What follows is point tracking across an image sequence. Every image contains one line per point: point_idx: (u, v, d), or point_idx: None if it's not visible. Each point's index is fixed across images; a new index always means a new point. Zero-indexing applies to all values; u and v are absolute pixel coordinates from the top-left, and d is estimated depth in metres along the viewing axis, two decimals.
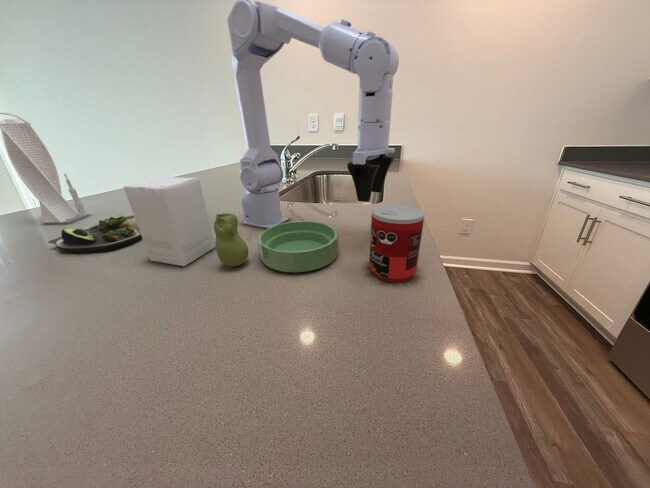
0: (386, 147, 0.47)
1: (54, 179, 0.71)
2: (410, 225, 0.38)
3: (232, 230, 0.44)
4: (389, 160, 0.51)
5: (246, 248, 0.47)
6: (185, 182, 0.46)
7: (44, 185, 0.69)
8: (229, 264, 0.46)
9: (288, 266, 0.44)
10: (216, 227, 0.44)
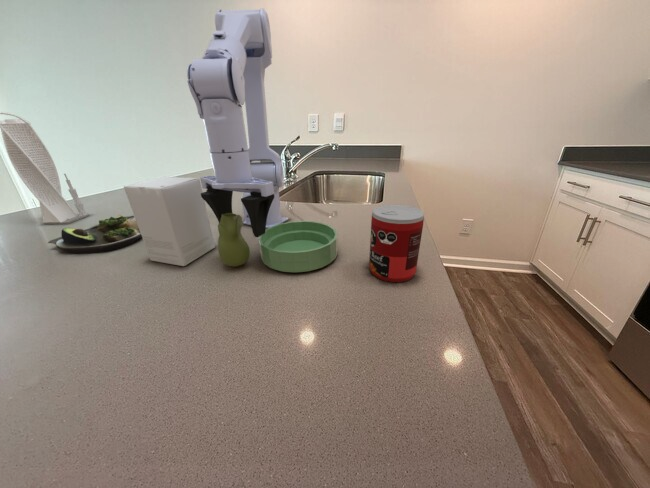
0: (218, 181, 0.40)
1: (54, 179, 0.71)
2: (410, 225, 0.38)
3: (236, 231, 0.44)
4: None
5: (248, 249, 0.47)
6: (185, 182, 0.46)
7: (44, 185, 0.69)
8: (230, 264, 0.46)
9: (288, 266, 0.44)
10: (221, 226, 0.44)
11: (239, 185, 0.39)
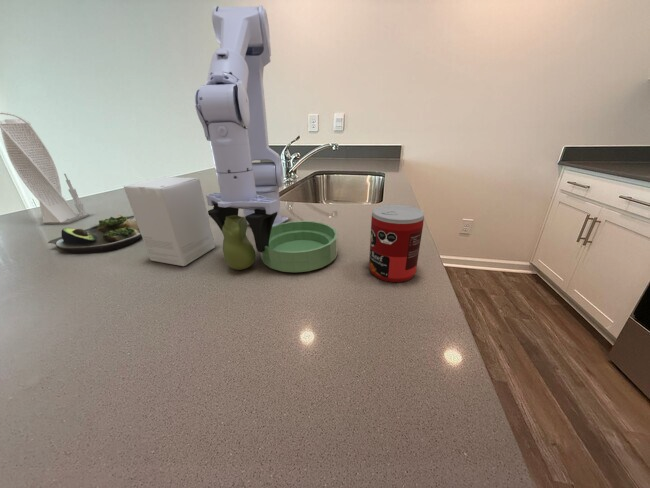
0: (224, 199, 0.41)
1: (54, 179, 0.71)
2: (410, 225, 0.38)
3: (240, 234, 0.43)
4: None
5: (253, 252, 0.46)
6: (185, 182, 0.46)
7: (44, 185, 0.69)
8: (235, 267, 0.45)
9: (288, 266, 0.44)
10: (224, 229, 0.43)
11: (244, 203, 0.41)
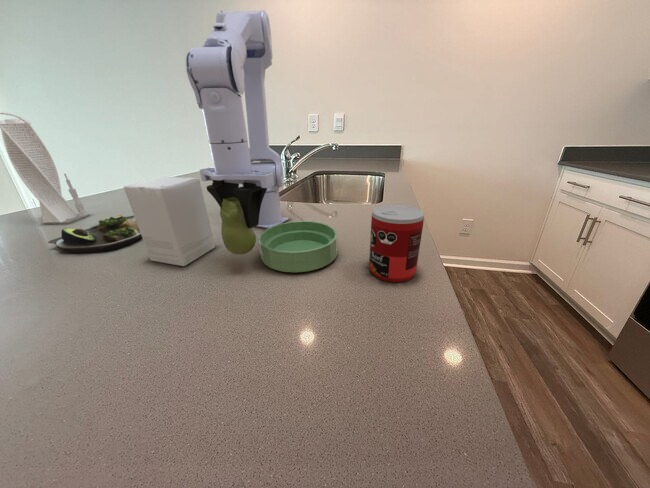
0: (217, 172, 0.40)
1: (54, 179, 0.71)
2: (410, 225, 0.38)
3: (238, 216, 0.41)
4: None
5: (253, 236, 0.44)
6: (185, 182, 0.46)
7: (44, 185, 0.69)
8: (234, 252, 0.44)
9: (288, 266, 0.44)
10: (222, 211, 0.41)
11: (239, 176, 0.39)
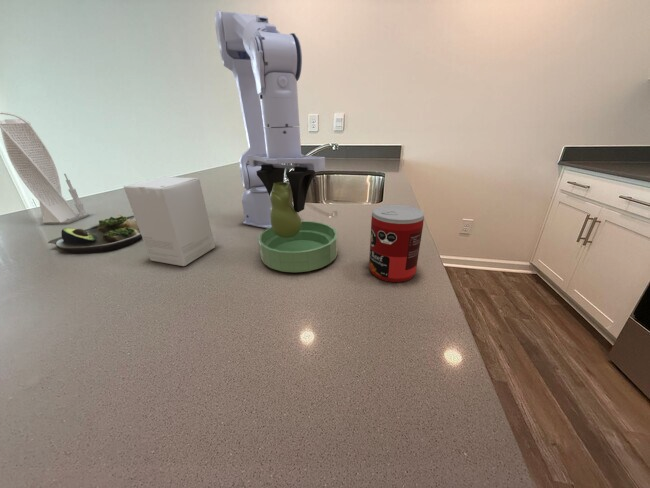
0: (270, 156, 0.41)
1: (54, 179, 0.71)
2: (410, 225, 0.38)
3: (289, 199, 0.42)
4: None
5: (300, 220, 0.46)
6: (185, 182, 0.46)
7: (44, 185, 0.69)
8: (282, 235, 0.45)
9: (288, 266, 0.44)
10: (273, 195, 0.42)
11: (292, 160, 0.40)
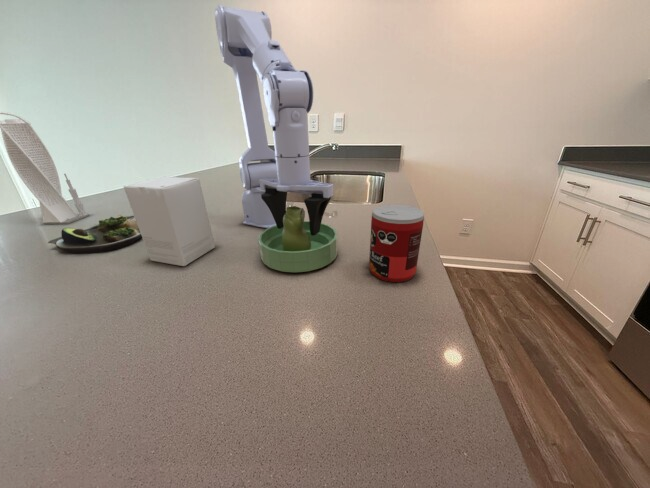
0: (282, 183, 0.43)
1: (54, 179, 0.71)
2: (410, 225, 0.38)
3: (301, 224, 0.45)
4: None
5: (310, 243, 0.48)
6: (185, 182, 0.46)
7: (44, 185, 0.69)
8: None
9: (288, 266, 0.44)
10: (286, 219, 0.45)
11: (303, 187, 0.42)
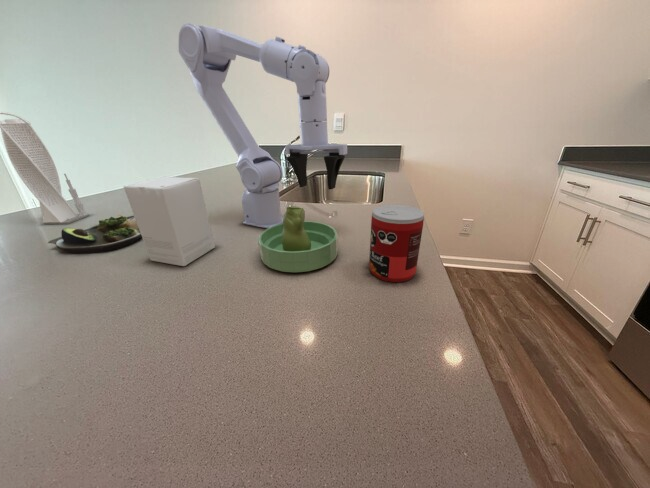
0: (305, 144, 0.53)
1: (54, 179, 0.71)
2: (410, 225, 0.38)
3: (301, 224, 0.45)
4: None
5: (310, 243, 0.48)
6: (185, 182, 0.46)
7: (44, 185, 0.69)
8: None
9: (288, 266, 0.44)
10: (286, 219, 0.45)
11: (322, 147, 0.52)
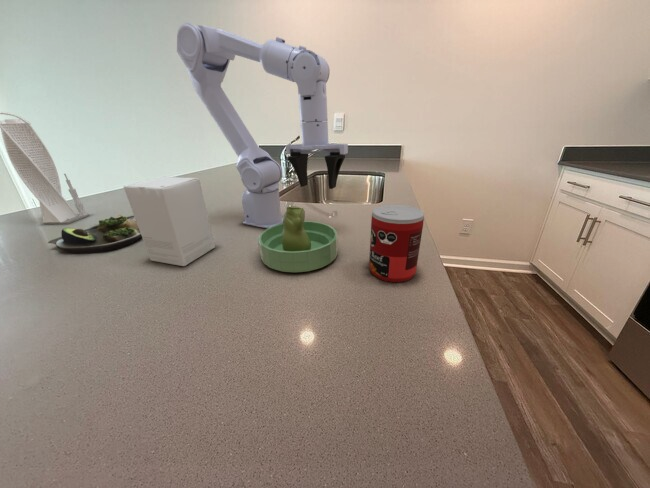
0: (306, 144, 0.54)
1: (54, 179, 0.71)
2: (410, 225, 0.38)
3: (301, 224, 0.45)
4: None
5: (310, 243, 0.48)
6: (185, 182, 0.46)
7: (44, 185, 0.69)
8: None
9: (288, 266, 0.44)
10: (286, 219, 0.45)
11: (323, 146, 0.53)
